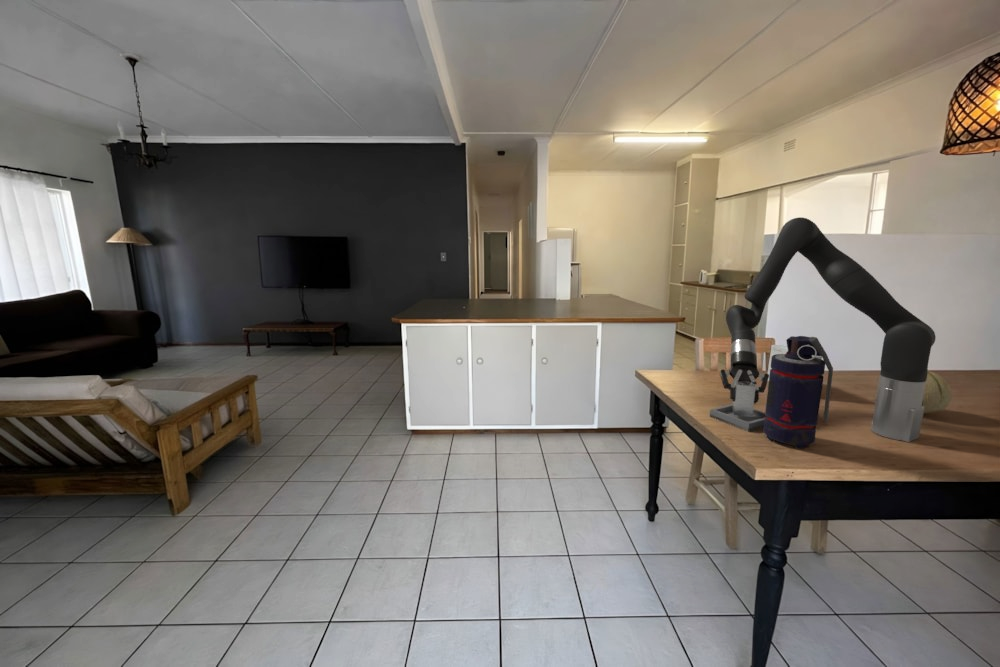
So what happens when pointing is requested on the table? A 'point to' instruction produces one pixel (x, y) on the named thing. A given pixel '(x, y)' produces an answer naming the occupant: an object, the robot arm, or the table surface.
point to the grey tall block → (744, 398)
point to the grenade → (796, 392)
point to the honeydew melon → (936, 393)
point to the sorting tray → (739, 418)
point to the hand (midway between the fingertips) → (744, 401)
